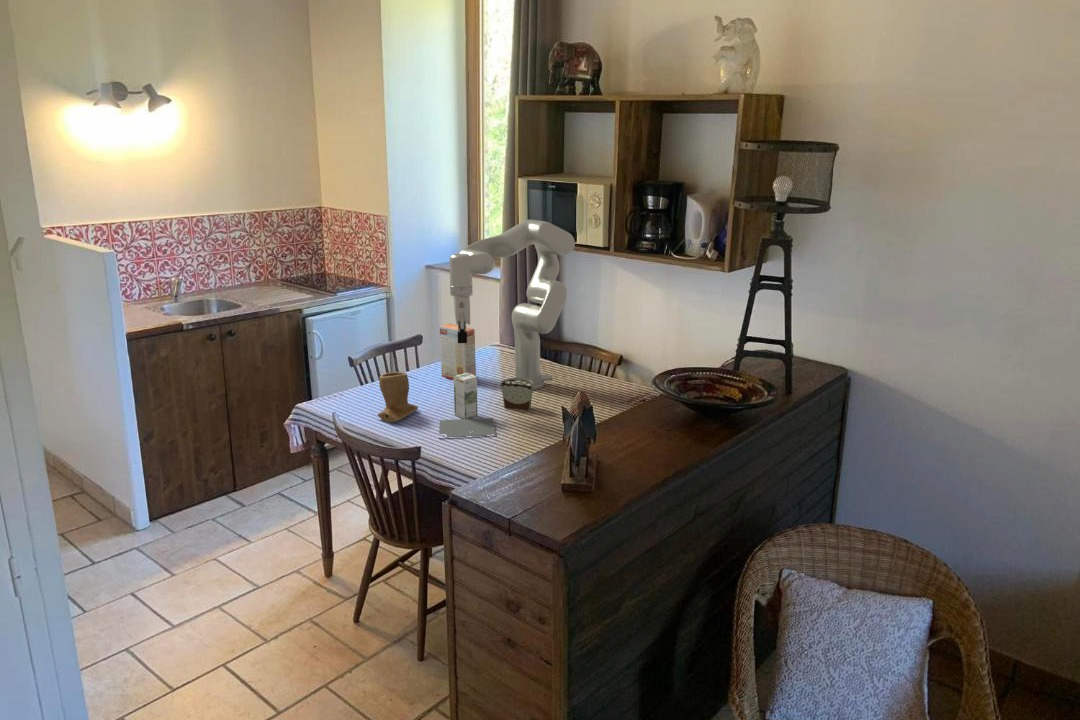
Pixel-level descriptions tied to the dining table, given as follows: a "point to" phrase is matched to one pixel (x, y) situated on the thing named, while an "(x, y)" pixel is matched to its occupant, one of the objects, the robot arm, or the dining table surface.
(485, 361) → the dining table surface
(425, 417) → the dining table surface
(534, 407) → the dining table surface
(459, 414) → the syrup box
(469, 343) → the cracker box
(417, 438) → the dining table surface
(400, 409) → the stone cup
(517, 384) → the food container
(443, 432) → the mat
